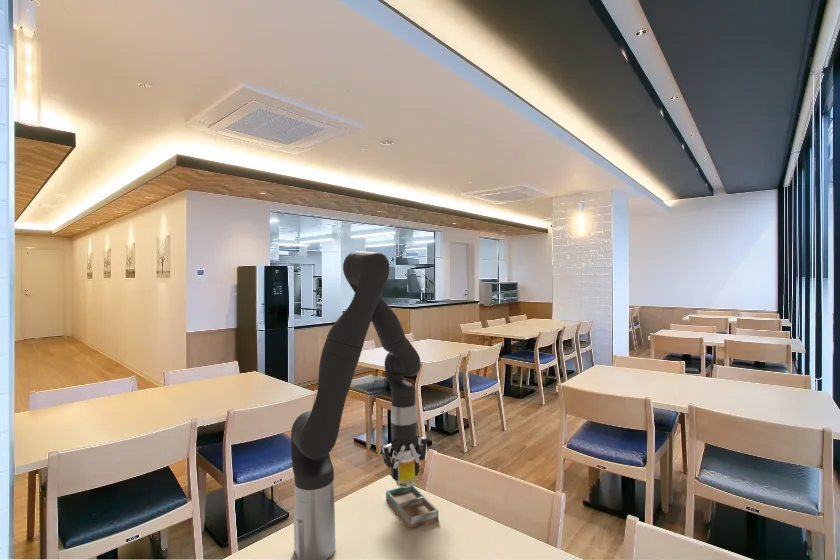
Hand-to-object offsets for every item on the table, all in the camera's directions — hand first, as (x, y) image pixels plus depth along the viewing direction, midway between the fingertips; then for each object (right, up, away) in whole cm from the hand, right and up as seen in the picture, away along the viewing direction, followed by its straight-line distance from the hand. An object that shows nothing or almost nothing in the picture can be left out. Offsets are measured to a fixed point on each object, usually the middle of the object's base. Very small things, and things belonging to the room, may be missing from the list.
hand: (405, 476), depth 122 cm
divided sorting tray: (+2, -8, -3) cm, 9 cm away
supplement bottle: (0, -2, 0) cm, 2 cm away
